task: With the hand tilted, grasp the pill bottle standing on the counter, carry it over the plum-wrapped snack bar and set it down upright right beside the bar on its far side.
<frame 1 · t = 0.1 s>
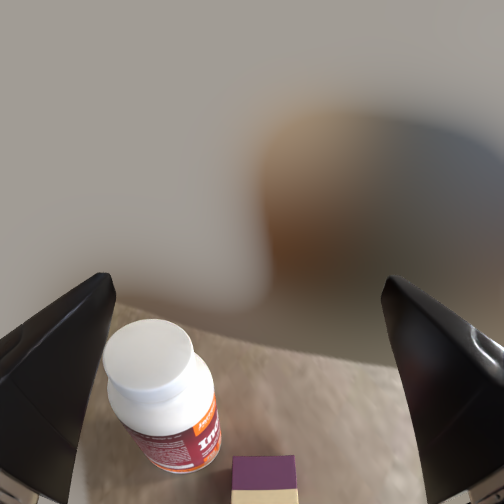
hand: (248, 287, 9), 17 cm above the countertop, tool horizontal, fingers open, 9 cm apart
pill bottle: (182, 440, 20), on the countertop
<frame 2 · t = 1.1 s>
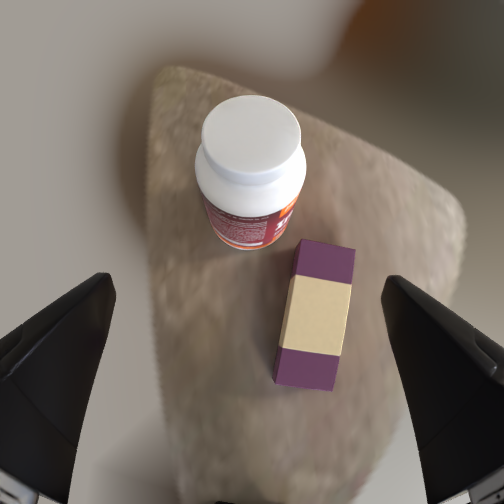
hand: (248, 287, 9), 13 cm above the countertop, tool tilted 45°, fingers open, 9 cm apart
pill bottle: (249, 214, 24), on the countertop
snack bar: (310, 316, 22), on the countertop
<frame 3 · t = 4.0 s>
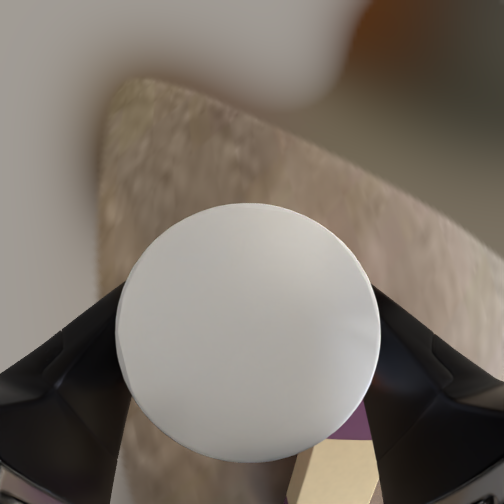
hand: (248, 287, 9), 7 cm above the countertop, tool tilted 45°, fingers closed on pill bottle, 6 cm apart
pill bottle: (247, 328, 16), on the countertop, touching gripper
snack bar: (330, 462, 14), on the countertop
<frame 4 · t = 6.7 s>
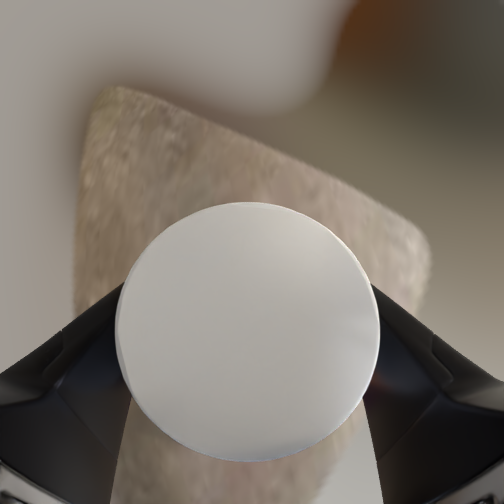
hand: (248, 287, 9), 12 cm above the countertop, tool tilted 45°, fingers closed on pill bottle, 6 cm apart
pill bottle: (247, 328, 16), point 6 cm above the countertop, touching gripper
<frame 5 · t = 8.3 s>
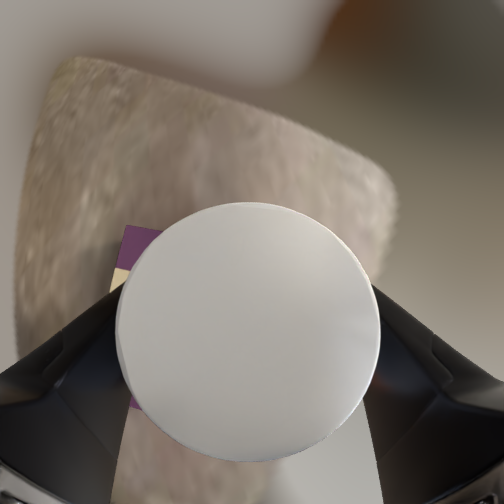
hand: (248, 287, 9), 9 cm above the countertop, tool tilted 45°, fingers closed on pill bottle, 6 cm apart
pill bottle: (247, 328, 16), point 2 cm above the countertop, touching gripper
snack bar: (151, 319, 18), on the countertop
when the fingers open (7 cm above the countertop, at t = 9.6 s): pill bottle stays where it is, on the countertop.
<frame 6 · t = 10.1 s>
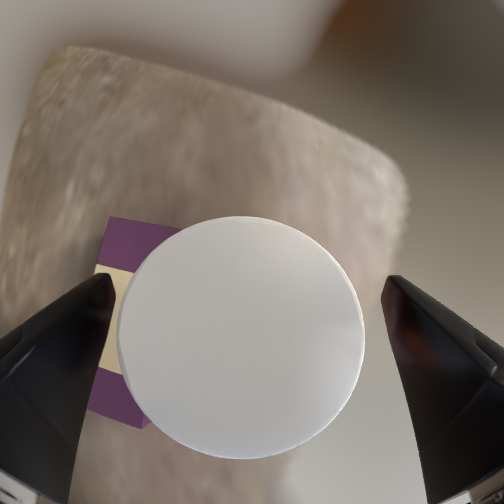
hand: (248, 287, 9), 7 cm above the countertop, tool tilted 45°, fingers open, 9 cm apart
pill bottle: (244, 330, 16), on the countertop
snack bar: (137, 322, 16), on the countertop
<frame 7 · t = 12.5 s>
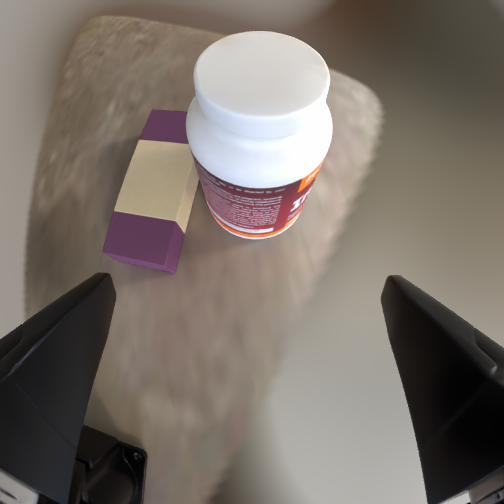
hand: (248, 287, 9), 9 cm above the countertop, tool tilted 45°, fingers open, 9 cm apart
pill bottle: (255, 196, 20), on the countertop
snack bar: (165, 193, 20), on the countertop
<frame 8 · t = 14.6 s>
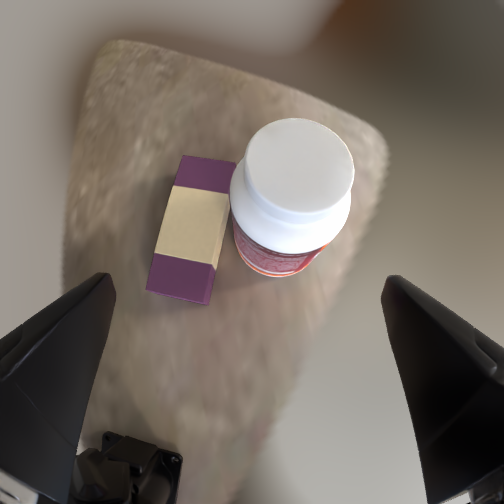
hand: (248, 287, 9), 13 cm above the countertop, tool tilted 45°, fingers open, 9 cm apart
pill bottle: (276, 237, 23), on the countertop
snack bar: (196, 233, 23), on the countertop
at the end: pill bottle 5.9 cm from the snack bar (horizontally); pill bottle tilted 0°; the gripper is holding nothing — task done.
